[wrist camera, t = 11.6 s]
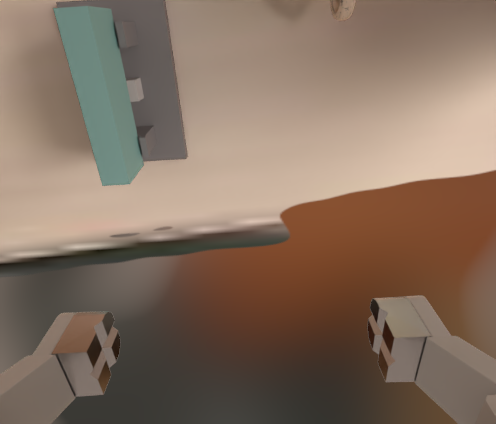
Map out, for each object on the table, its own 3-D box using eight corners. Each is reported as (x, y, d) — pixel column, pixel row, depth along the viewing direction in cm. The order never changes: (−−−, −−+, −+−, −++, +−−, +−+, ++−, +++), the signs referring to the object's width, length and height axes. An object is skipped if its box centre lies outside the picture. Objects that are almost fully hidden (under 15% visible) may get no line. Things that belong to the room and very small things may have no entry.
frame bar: (111, 8, 30) (87, 6, 25) (143, 164, 36) (129, 184, 32) (81, 10, 30) (53, 8, 25) (119, 166, 36) (102, 185, 32)
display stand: (164, -4, 33) (150, -9, 28) (187, 155, 41) (179, 173, 36) (61, 3, 34) (29, -1, 29) (103, 160, 41) (83, 179, 36)
